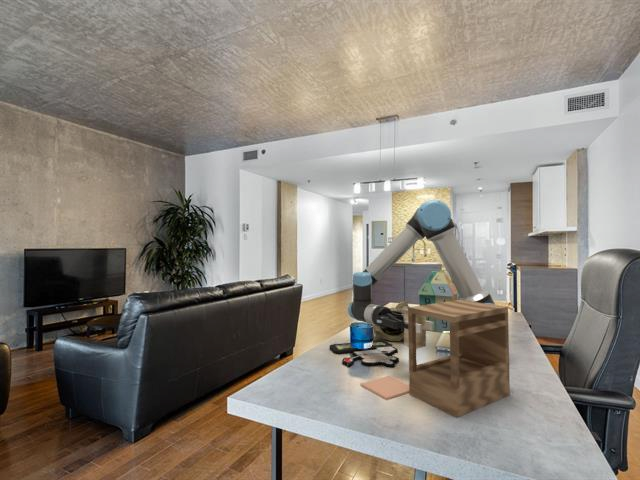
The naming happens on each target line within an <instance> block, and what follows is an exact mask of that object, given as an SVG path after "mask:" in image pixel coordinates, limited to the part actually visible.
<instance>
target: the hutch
mask: <svg viewBox="0 0 640 480" xmlns="http://www.w3.org/2000/svg"><path fill="white" fill-rule="evenodd" d="M416 314H417V315H422V316H426V317H431V318H435V319H440V320H445V321H449V322H450V334H449V354H450V355H449V356H445V357H442V358H438V359H435V360H430V361H427V362H423V363H420V364H417V349H416ZM509 333H510V331H509V307H508V306H505V305H498V304H495V305H492V304H485V303H479V302H472V301H465V300H458V299H457V300H455V301H448V302H442V303H435V304H428V305H421V306H420V305H414V306H409V307H408V334H409V347H408V370H409V371H408V378H409V379H408V381H409V382H408V383H409V384H408V385H409V393H408V394H409V396H411V397H413V398H415V399H418V400H420V401H422V402H424V403H425V404H428V405H430V406H432V407H434V408H436V409H438V410H440V411H441V412H444V413H447V414H448V415H450V416H452V417H455V418H459V417H461V416H463V415H465V414H468V413H471V412H472V411H475V410H478V409H480V408H483V407H485V406H487V405H489V404H491V403H494V402H496V401H500V400H501V399H503V398H506V397H508V396H511V395H510V394H511V390H510V389H511V388H510V342H509V341H510V337H509V335H510V334H509Z"/></svg>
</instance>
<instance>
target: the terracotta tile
mask: <svg viewBox="0 0 640 480" xmlns="http://www.w3.org/2000/svg"><path fill="white" fill-rule="evenodd" d="M359 386H361V387H362V388H365V389H366V390H368V391H369V392H371V393H373V394H375V395H376V396H379V397H380V398H382V399H384V400H386V401H388V400H391V399H394V398H397V397H400V396H403V395H406V394H409V384H408V383H406V382H404V381H402V380H400V379H397V378H395V377H393V376H390V375H386V376H383V377H380V378H376V379H372V380H368V381H365V382H361V383H360V385H359Z"/></svg>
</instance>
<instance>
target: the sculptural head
mask: <svg viewBox="0 0 640 480" xmlns="http://www.w3.org/2000/svg"><path fill="white" fill-rule="evenodd" d="M408 307H410V306H409V304H408V302H406V301H404V300H403V301H401V302H398V304H396V306H395V307H388V308H389V309H390V310H391V311H392V313H397V314H402V313H404V309H408ZM372 325H373V324H371V326H372ZM373 327H374V332H373V333H374V335H376V336H377V337H379V338H380V339H382V340H385V341H389V342H390V341H392V342H401V341H404V331H401V329H400V328H399V329H398V330H396V329H393V328H389V327H380V326H377V325H375V326H373Z"/></svg>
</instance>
